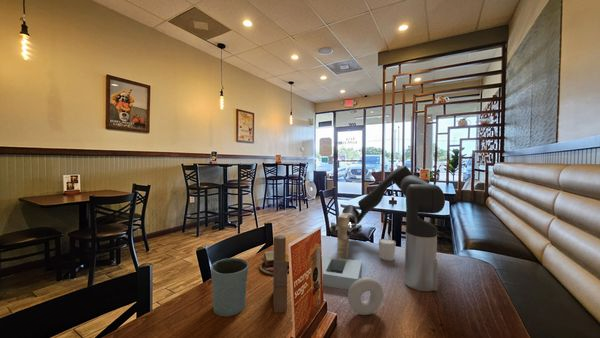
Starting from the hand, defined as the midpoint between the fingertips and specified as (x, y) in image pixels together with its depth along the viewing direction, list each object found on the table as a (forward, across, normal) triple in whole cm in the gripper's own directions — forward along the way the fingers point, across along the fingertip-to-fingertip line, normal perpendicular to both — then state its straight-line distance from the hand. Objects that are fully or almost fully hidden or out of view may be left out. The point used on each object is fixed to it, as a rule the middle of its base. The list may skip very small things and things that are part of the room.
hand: (342, 232), depth 100 cm
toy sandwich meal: (+13, -23, +12) cm, 29 cm away
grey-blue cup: (+40, -25, +12) cm, 49 cm away
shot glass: (-11, +17, +12) cm, 24 cm away
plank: (-3, 0, +10) cm, 10 cm away
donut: (+31, +11, +12) cm, 35 cm away
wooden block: (+33, -13, +12) cm, 38 cm away
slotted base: (+13, 0, +12) cm, 18 cm away
